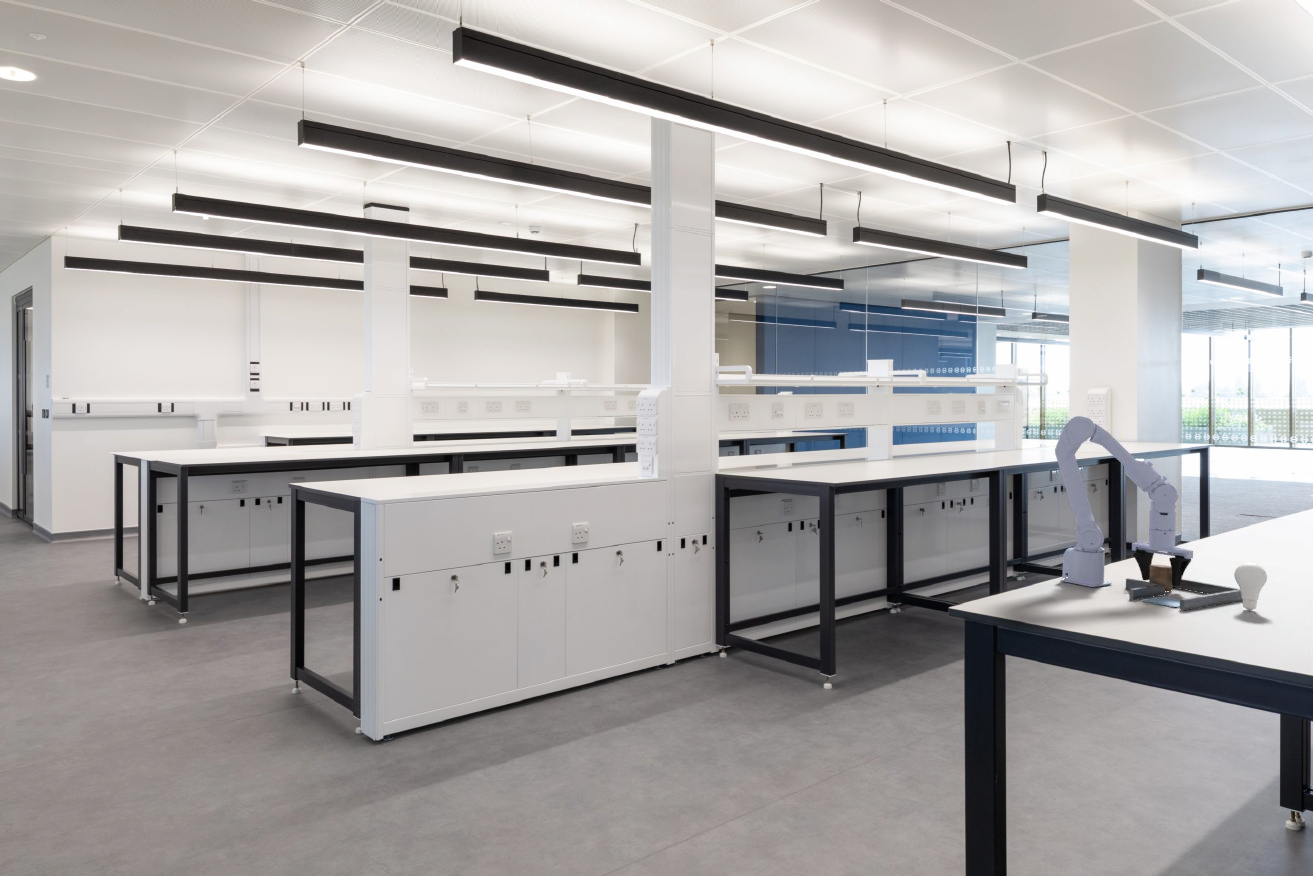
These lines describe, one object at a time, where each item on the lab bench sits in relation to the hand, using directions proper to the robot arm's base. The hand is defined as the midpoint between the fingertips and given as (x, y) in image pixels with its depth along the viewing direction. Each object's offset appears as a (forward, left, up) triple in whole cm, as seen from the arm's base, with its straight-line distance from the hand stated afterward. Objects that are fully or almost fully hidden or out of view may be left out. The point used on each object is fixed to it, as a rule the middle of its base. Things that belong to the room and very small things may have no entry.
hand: (1160, 582), depth 216 cm
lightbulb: (+23, -4, -2) cm, 23 cm away
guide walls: (+5, -6, -2) cm, 8 cm away
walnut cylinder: (0, 0, -2) cm, 2 cm away
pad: (+10, -13, -2) cm, 16 cm away
